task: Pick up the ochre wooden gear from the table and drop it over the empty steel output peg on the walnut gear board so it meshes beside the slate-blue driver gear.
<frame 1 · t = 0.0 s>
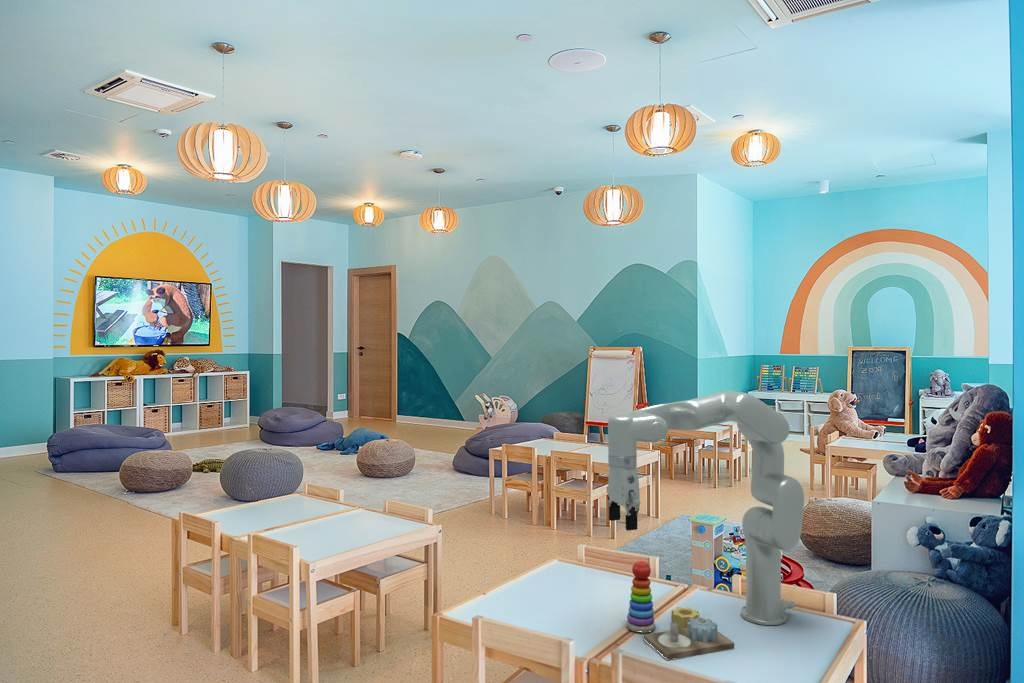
hand: (622, 524, 187), 31 cm above the table, tool pointing down, fingers open, 9 cm apart
slate gear: (702, 636, 186), resting on gear board
ochre gear: (685, 624, 197), on the table
stacking toy: (640, 628, 195), on the table
gear board: (688, 644, 185), on the table
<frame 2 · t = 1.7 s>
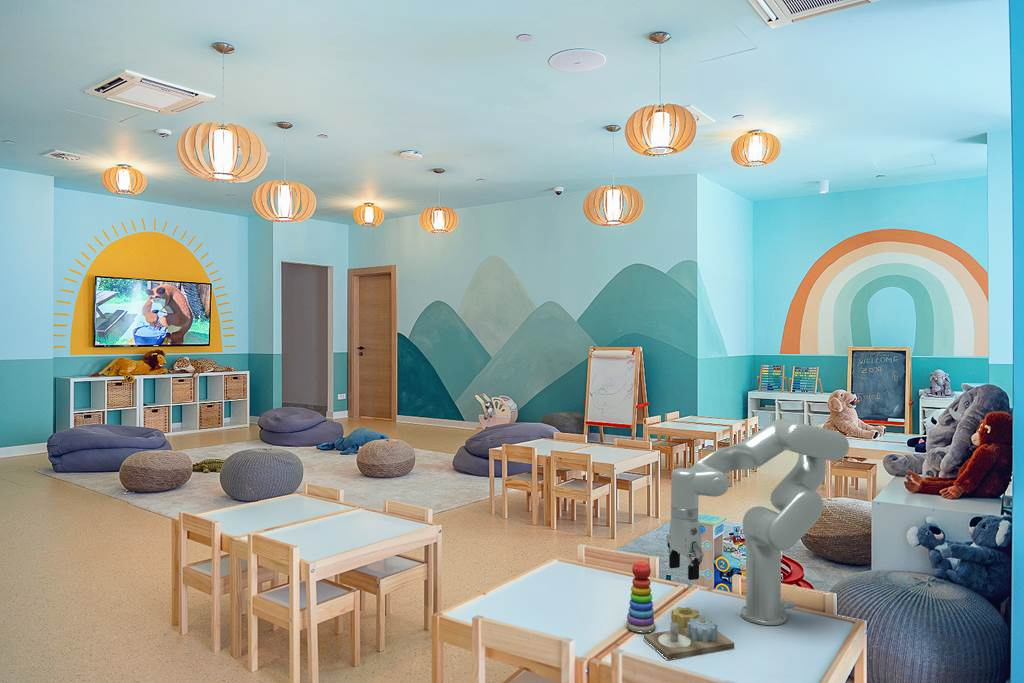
hand: (683, 573, 197), 15 cm above the table, tool pointing down, fingers open, 9 cm apart
nothing on the table moved.
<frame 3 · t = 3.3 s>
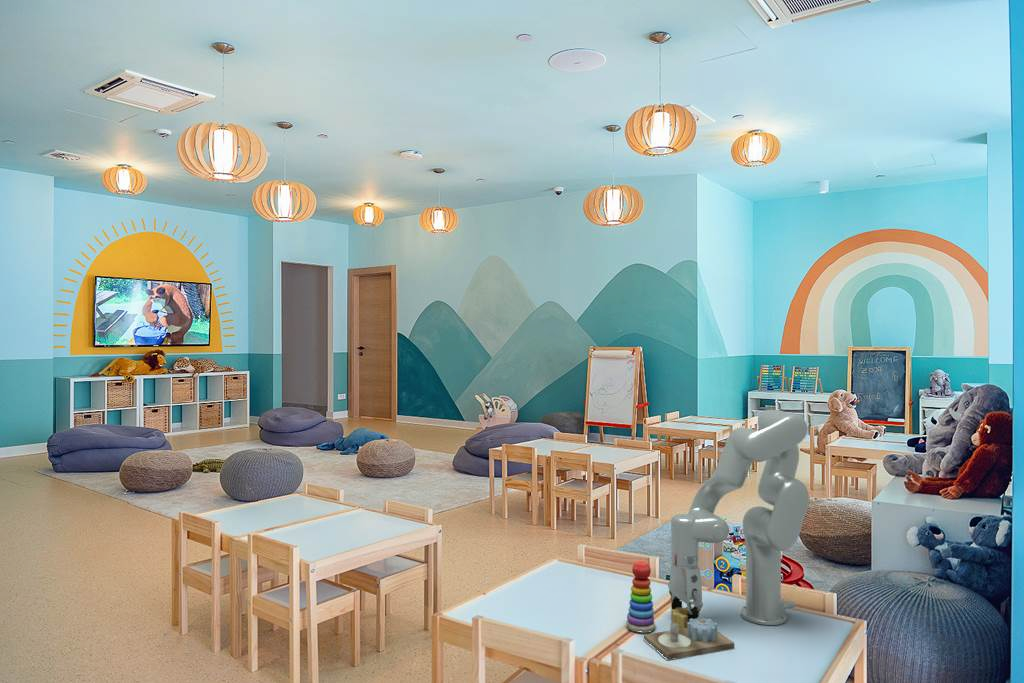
hand: (684, 620, 197), 1 cm above the table, tool pointing down, fingers closed on ochre gear, 7 cm apart
ochre gear: (685, 624, 197), on the table, touching gripper
everything else where it was.
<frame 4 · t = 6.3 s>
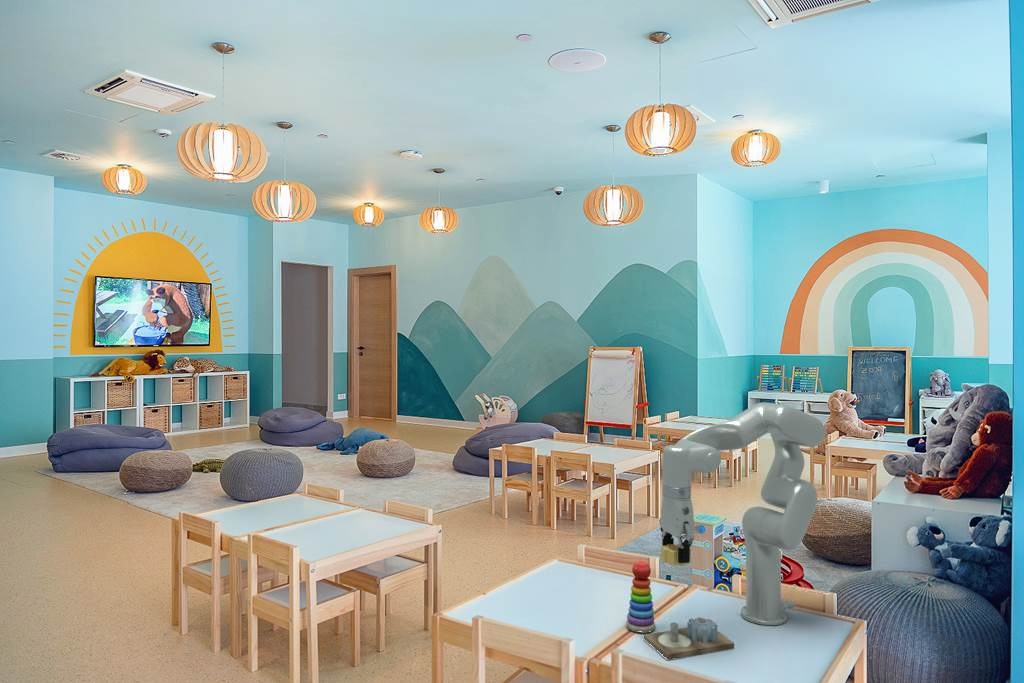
hand: (675, 557, 187), 22 cm above the table, tool pointing down, fingers closed on ochre gear, 7 cm apart
ochre gear: (676, 561, 187), point 21 cm above the table, touching gripper
everything else where it was.
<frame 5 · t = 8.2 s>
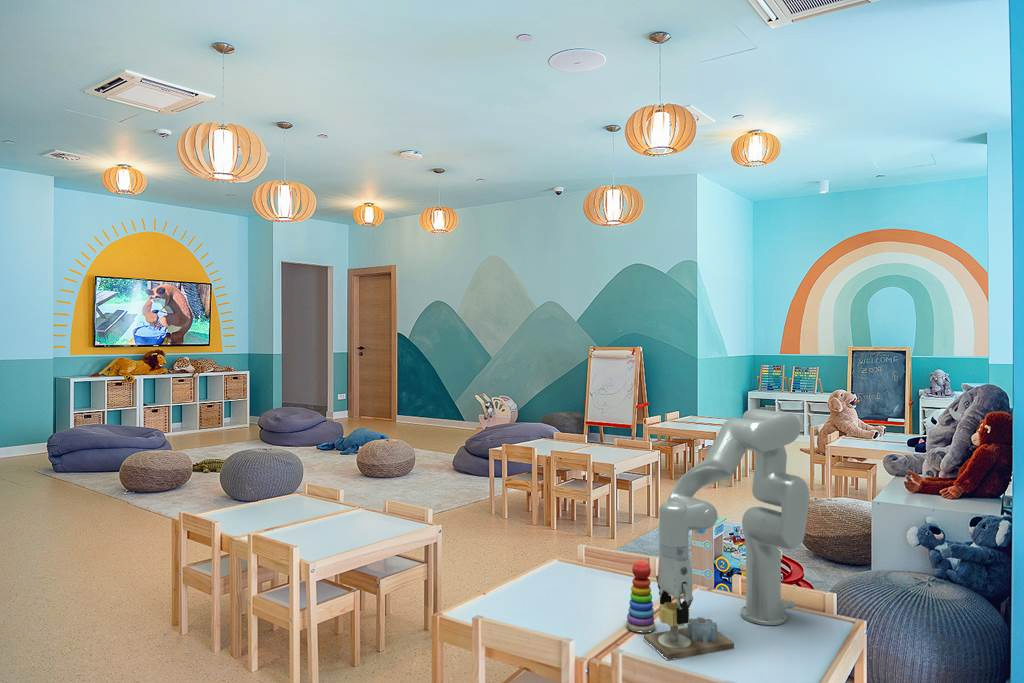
hand: (673, 616, 183), 8 cm above the table, tool pointing down, fingers closed on ochre gear, 7 cm apart
ochre gear: (674, 620, 183), point 7 cm above the table, touching gripper
everything else where it was.
when the fingers open (3 cm above the table, at t = 9.7 s): ochre gear stays where it is, resting on gear board.
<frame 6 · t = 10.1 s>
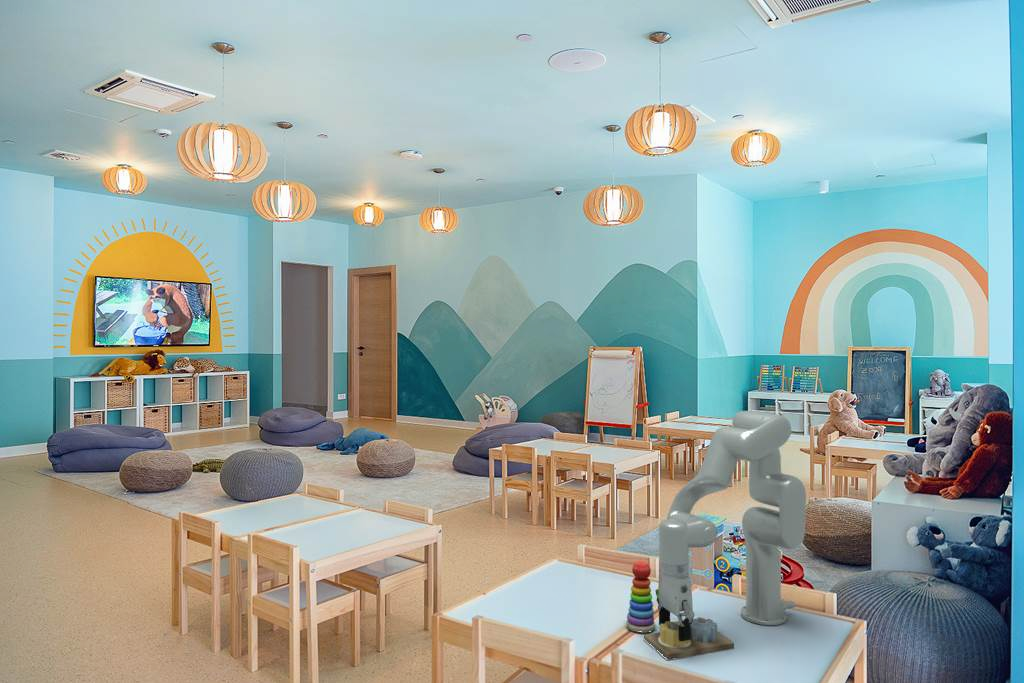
hand: (674, 632, 183), 4 cm above the table, tool pointing down, fingers open, 9 cm apart
ochre gear: (674, 640, 183), point 2 cm above the table, touching gear board
everything else where it was.
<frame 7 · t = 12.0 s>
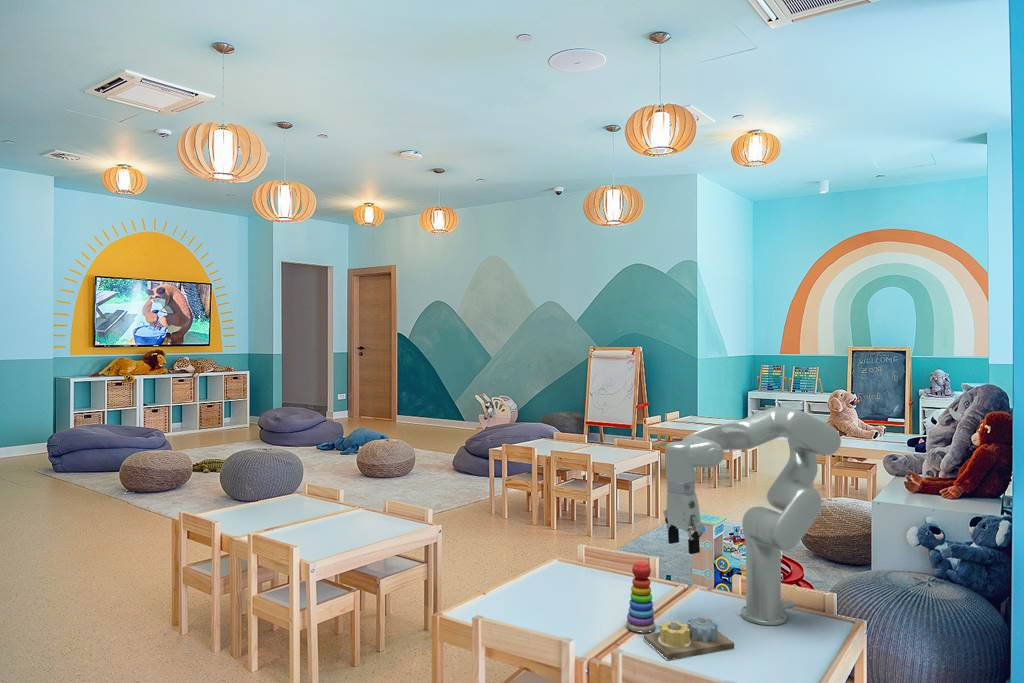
hand: (683, 547, 193), 23 cm above the table, tool pointing down, fingers open, 9 cm apart
nothing on the table moved.
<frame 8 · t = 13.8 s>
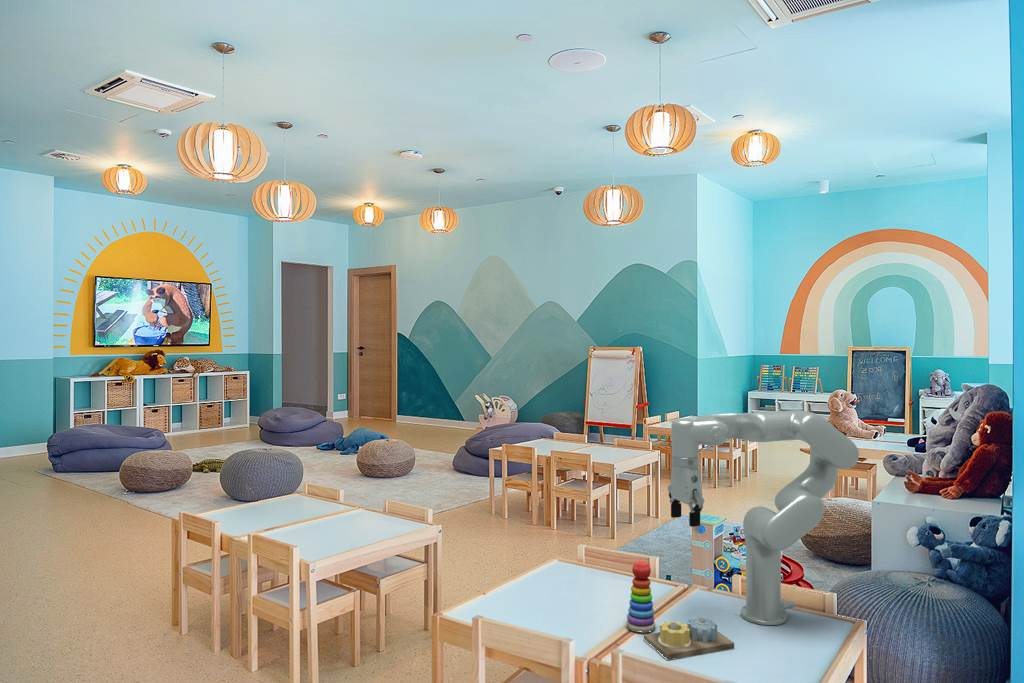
hand: (685, 521, 200), 28 cm above the table, tool pointing down, fingers open, 9 cm apart
nothing on the table moved.
at the end: ochre gear 0.1 cm from the target spot, point 1.7 cm above the table; ochre gear tilted 0°; the gripper is holding nothing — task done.
